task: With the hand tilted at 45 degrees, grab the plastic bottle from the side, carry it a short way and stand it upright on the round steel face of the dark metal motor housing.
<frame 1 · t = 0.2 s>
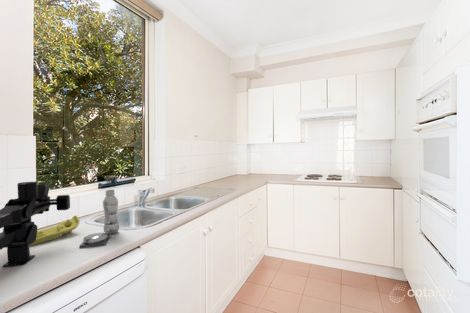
hand: (54, 199, 109), 17 cm above the counter, tool horizontal, fingers open, 9 cm apart
plastic bottle: (111, 233, 111), on the counter
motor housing: (95, 242, 101), on the counter
plastic component: (53, 237, 108), on the counter
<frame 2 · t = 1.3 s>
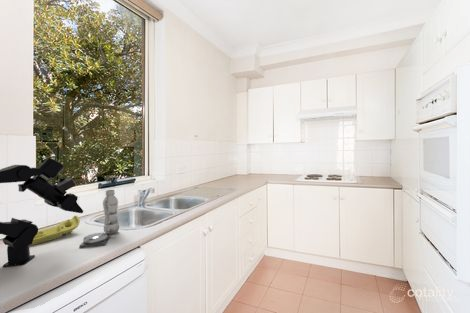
hand: (77, 210, 101), 14 cm above the counter, tool tilted 45°, fingers open, 9 cm apart
nothing on the counter moved.
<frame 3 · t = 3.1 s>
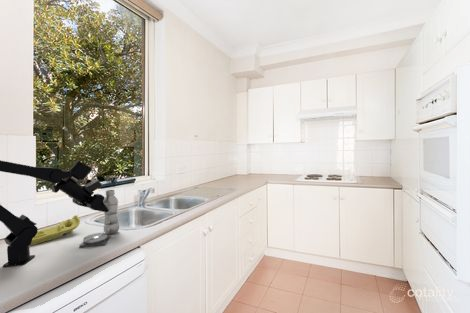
hand: (102, 209, 108), 12 cm above the counter, tool tilted 45°, fingers open, 9 cm apart
nothing on the counter moved.
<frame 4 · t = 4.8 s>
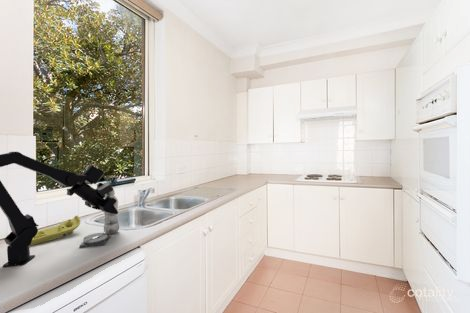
hand: (114, 212, 112), 10 cm above the counter, tool tilted 45°, fingers closed on plastic bottle, 6 cm apart
plastic bottle: (111, 233, 111), on the counter, touching gripper
everything else where it was.
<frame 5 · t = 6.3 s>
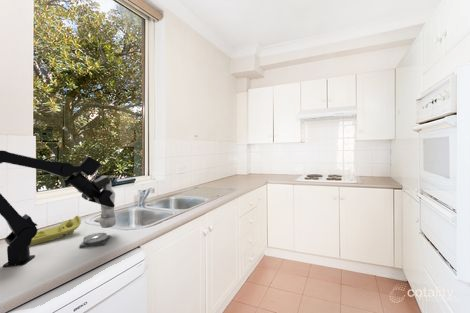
hand: (110, 205, 110), 13 cm above the counter, tool tilted 45°, fingers closed on plastic bottle, 6 cm apart
plastic bottle: (108, 227, 109), point 3 cm above the counter, touching gripper
everything else where it was.
when the fingers open (13 cm above the counter, at t = 8.0 s): plastic bottle stays where it is, resting on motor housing.
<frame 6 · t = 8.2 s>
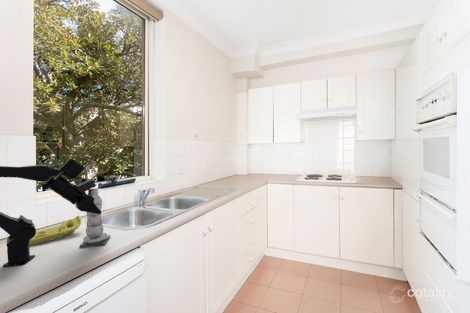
hand: (97, 211, 102), 13 cm above the counter, tool tilted 45°, fingers open, 8 cm apart
plastic bottle: (94, 237, 101), point 2 cm above the counter, touching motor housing
everything else where it was.
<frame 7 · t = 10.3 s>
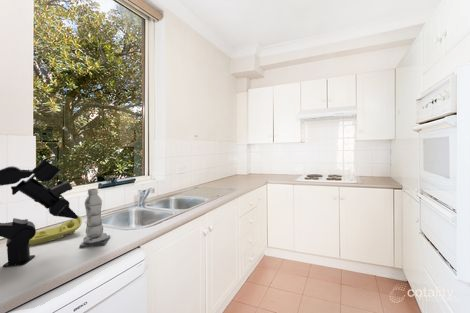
hand: (74, 215, 96), 13 cm above the counter, tool tilted 45°, fingers open, 9 cm apart
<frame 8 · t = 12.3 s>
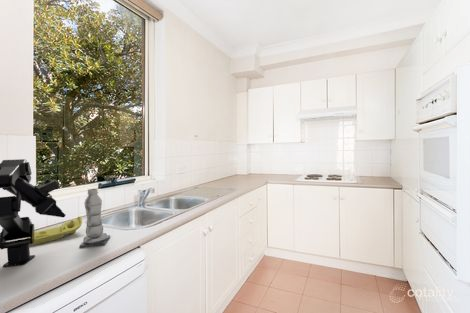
hand: (62, 213, 96), 14 cm above the counter, tool tilted 45°, fingers open, 9 cm apart
at the end: plastic bottle 0.2 cm off-centre on the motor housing, point 2.3 cm above the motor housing's base; plastic bottle tilted 0°; the gripper is holding nothing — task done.
